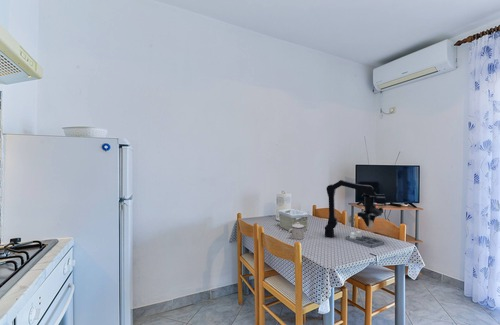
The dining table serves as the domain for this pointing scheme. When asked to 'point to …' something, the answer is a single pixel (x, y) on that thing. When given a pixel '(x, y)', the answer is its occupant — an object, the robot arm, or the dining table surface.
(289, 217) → the storage basket
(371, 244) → the egg tray
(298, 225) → the teacup with lid
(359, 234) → the cream egg
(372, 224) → the brown egg
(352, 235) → the cream egg
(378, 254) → the dining table surface
